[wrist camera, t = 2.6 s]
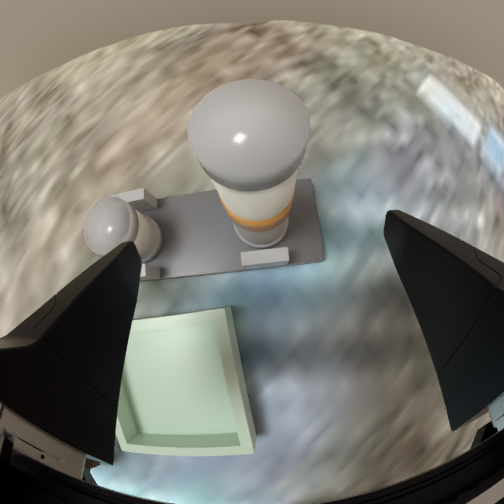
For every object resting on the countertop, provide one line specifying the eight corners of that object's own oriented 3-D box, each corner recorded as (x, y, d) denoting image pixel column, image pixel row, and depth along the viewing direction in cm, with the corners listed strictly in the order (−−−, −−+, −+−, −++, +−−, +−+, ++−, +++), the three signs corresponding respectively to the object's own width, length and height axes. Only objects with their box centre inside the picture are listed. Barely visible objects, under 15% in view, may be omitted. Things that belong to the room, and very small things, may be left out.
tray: (256, 435, 18) (254, 453, 15) (136, 437, 18) (122, 450, 16) (230, 306, 20) (224, 308, 17) (106, 322, 20) (87, 325, 17)
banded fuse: (292, 244, 19) (324, 163, 7) (240, 253, 19) (192, 187, 7) (281, 195, 19) (292, 73, 8) (231, 204, 20) (184, 92, 8)
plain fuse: (165, 259, 19) (133, 248, 14) (123, 267, 19) (85, 259, 15) (160, 212, 20) (130, 189, 15) (120, 222, 20) (84, 204, 15)
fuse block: (321, 261, 20) (332, 255, 16) (107, 284, 20) (82, 282, 17) (309, 183, 20) (315, 163, 17) (106, 214, 21) (83, 202, 18)
